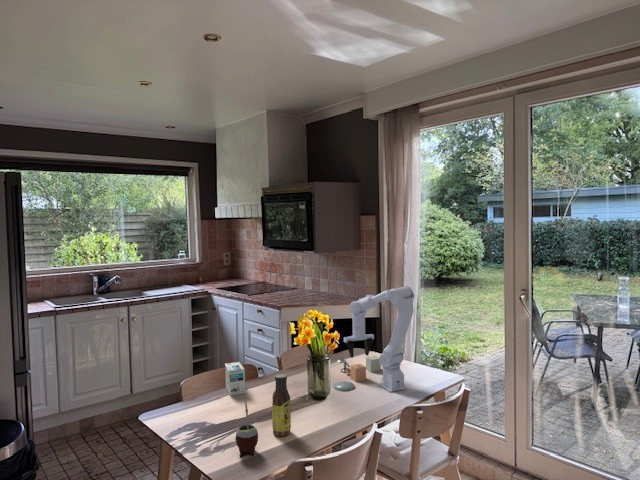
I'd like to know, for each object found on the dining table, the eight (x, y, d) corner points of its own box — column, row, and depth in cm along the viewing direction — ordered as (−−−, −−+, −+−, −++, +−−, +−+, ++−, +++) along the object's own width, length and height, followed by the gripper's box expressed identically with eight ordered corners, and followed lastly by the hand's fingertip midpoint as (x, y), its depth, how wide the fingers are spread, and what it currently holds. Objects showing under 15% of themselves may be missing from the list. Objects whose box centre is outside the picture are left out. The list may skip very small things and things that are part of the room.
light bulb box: (245, 393, 195) (245, 368, 195) (229, 396, 193) (229, 370, 192) (240, 385, 205) (239, 361, 205) (225, 387, 203) (224, 363, 202)
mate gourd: (247, 461, 142) (245, 413, 141) (229, 453, 147) (228, 406, 146) (264, 451, 148) (263, 404, 147) (246, 443, 152) (245, 399, 152)
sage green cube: (380, 370, 221) (380, 358, 220) (371, 372, 219) (371, 359, 219) (375, 367, 226) (375, 355, 225) (366, 369, 224) (365, 356, 223)
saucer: (357, 388, 199) (357, 387, 199) (338, 392, 195) (338, 390, 195) (348, 381, 207) (348, 380, 207) (330, 385, 204) (330, 383, 204)
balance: (354, 374, 216) (354, 362, 216) (347, 376, 214) (346, 364, 214) (343, 366, 228) (343, 355, 228) (335, 367, 226) (335, 356, 226)
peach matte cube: (366, 380, 209) (365, 367, 209) (355, 381, 207) (355, 368, 207) (360, 376, 214) (360, 363, 213) (350, 378, 212) (350, 365, 212)
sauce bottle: (288, 438, 156) (287, 380, 155) (270, 436, 157) (269, 378, 156) (293, 429, 162) (292, 373, 161) (275, 427, 164) (274, 372, 162)
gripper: (369, 323, 219) (369, 351, 220) (340, 326, 214) (341, 355, 215) (376, 326, 213) (376, 355, 213) (347, 329, 207) (347, 359, 208)
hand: (359, 356), depth 214 cm, fingers open, 7 cm apart
